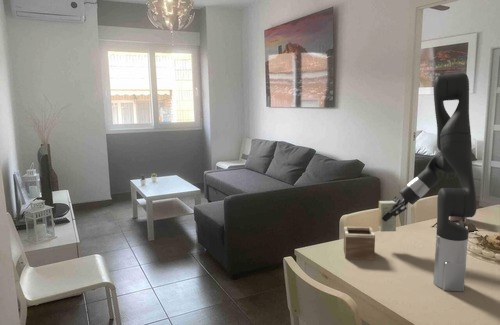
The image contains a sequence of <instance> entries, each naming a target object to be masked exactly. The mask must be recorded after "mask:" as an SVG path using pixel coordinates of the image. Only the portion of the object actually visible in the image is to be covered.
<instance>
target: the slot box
mask: <svg viewBox="0 0 500 325" xmlns="http://www.w3.org/2000/svg"><path fill="white" fill-rule="evenodd" d="M375 246H376V234H375V232H374V230H373V227H371V226H349V225H344V226H343V254H344V258H345V259H348V260H366V261H367V260H368V261H375V253H376V252H375Z"/></svg>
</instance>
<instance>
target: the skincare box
mask: <svg viewBox="0 0 500 325" xmlns="http://www.w3.org/2000/svg"><path fill="white" fill-rule="evenodd" d="M394 204H395V202H394V201H391V200H378V230H379V231H380V232H397V216H396V217H395V216H392V217H391V218H390V219H389V220H387V221H386V222H385V221H384V220H383V219H382V217H383V216H384V215H385V214H386V213H388V212H389V211H390V210H391V209H392V206H393V205H394ZM395 208H396V207H395ZM394 212H395V211H394Z"/></svg>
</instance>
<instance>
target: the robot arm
mask: <svg viewBox="0 0 500 325" xmlns="http://www.w3.org/2000/svg"><path fill="white" fill-rule="evenodd" d="M444 101H446V102H447V101H458V103H457V105H456V108H455V110H454V111H453V113H452V115H451V116H450V115H449V113H448V112H447V110H446V108H445V103H444ZM433 102H434V113H435V114H434V115H435V119H436V121H435V122H436V129H437V130H436V131H437V132H436V133H437V134H436V137H437V138H436V146H437V149H438V150H439V152H437V153H436V154H434V155H433V156H432V158H431V159H430V160H429V161H428V164H427V165H426V166H425V168H424V170H422V171H421V172H420V173H418V175H417V176H415V177H414V178H413V179H411V180H410V181H409V182H408V183H406V185H404V186H403V187H402V188H401V189H400V190H399V191H398V192H399V194H400V195H399V196H398V197H397V196H394V197H393V198H392V199H391V200H390V201H394V202H395V204H394V205H393V206H392V209H391V210H390V211H389V212H388V213H386V214H385V215H384V216H383V217H382V219H383V220H384V221H385V222H386V221H387V220H389V219H390V218H391V217H392V216H395V217H396V218H397V216H399V215H400V214H401V213H403V212H404V211H406V210H407V209H408V208H407V205H408V204H410V205H415V204H416V203H417V202H418V201H419V200H420V199H421V198H422V197H424V196H425V195H426V194H427V193H428V192H429V191H430V189H432V188H433V187H434V186H436V185H437V184H438V183H439V181H440V177H439V175H438V173H439V172H440V170H441V171H442V172H443V173H445V174H446V175H454V174H456V176H457V178H458V180H459V183H460V185H461V186H460V187H461V188H460V187H459V188H455V187H442V188H440V189H439V191H438V193H437V198H436V199H437V201H436V202H437V207H436V208H437V217H436V223H437V224H436V236H435V238H436V239H435V249H434V250H435V252H434V264H433V266H434V267H433V279H432V280H433V284H434V285H435V286H436V287H438V288H440V289H442V290H443V291H447V292H448V291H450V292H451V291H452V292H464V288H465V282H466V268H467V258H468V257H467V256H468V255H467V254H468V246H469V243H468V242H469V232H468V231H469V230H468V228H467V227H466V226H465V227H463V226H461V225H459V223H457V222H452V221H451V220H450V216H453V217H467V218H474V217H475V215H476V214H477V208H478V207H477V206H478V205H477V204H478V202H477V196H476V195H477V193H476V187H475V186H476V185H475V180H474V174H473V173H474V172H473V171H474V170H473V158H472V157H473V154H472V153H473V150H472V148H473V147H472V134H471V121H470V120H471V119H470V80H469V77H468V75H467V74H466V73H463V72H461V73H451V74H449V73H448V74H439V75H436V76H435V78H434V80H433ZM395 207H396V208H395ZM394 211H395V212H394Z"/></svg>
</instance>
